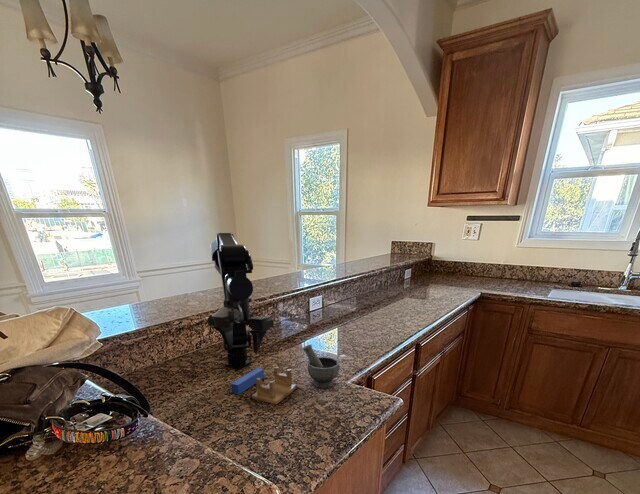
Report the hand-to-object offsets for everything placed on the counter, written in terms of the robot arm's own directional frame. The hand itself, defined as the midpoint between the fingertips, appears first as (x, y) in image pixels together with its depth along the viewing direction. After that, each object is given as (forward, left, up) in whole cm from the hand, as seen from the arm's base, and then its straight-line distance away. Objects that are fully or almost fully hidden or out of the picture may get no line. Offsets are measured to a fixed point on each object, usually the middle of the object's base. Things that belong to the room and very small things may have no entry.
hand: (243, 351), depth 101 cm
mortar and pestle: (-12, +19, -11) cm, 25 cm away
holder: (0, +10, -11) cm, 15 cm away
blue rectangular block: (-1, 0, -11) cm, 11 cm away
